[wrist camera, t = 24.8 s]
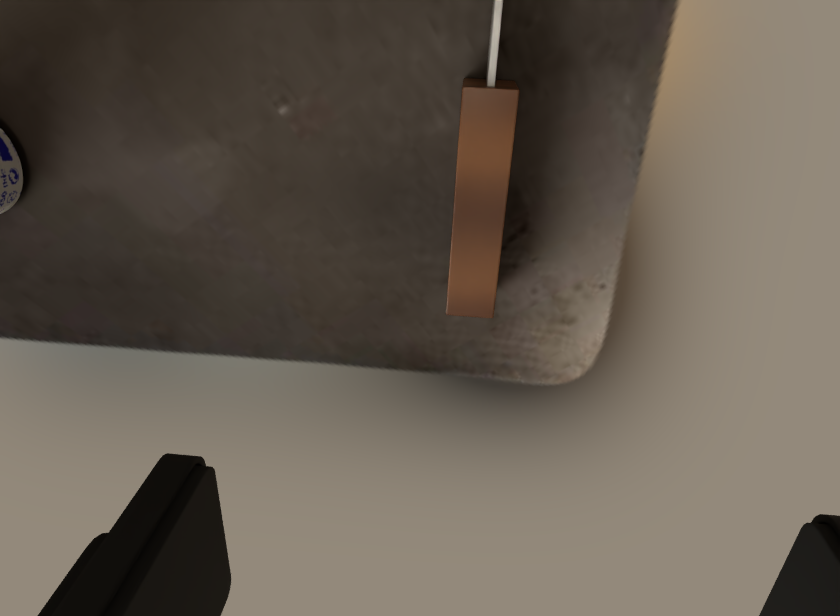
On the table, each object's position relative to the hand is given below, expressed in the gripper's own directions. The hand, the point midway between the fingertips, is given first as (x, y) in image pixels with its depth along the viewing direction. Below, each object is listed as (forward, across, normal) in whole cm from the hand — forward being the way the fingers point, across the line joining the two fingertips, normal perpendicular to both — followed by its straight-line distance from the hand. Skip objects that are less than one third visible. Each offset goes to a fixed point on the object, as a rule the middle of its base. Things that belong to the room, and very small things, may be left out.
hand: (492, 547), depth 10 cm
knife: (+20, 0, -6) cm, 21 cm away
